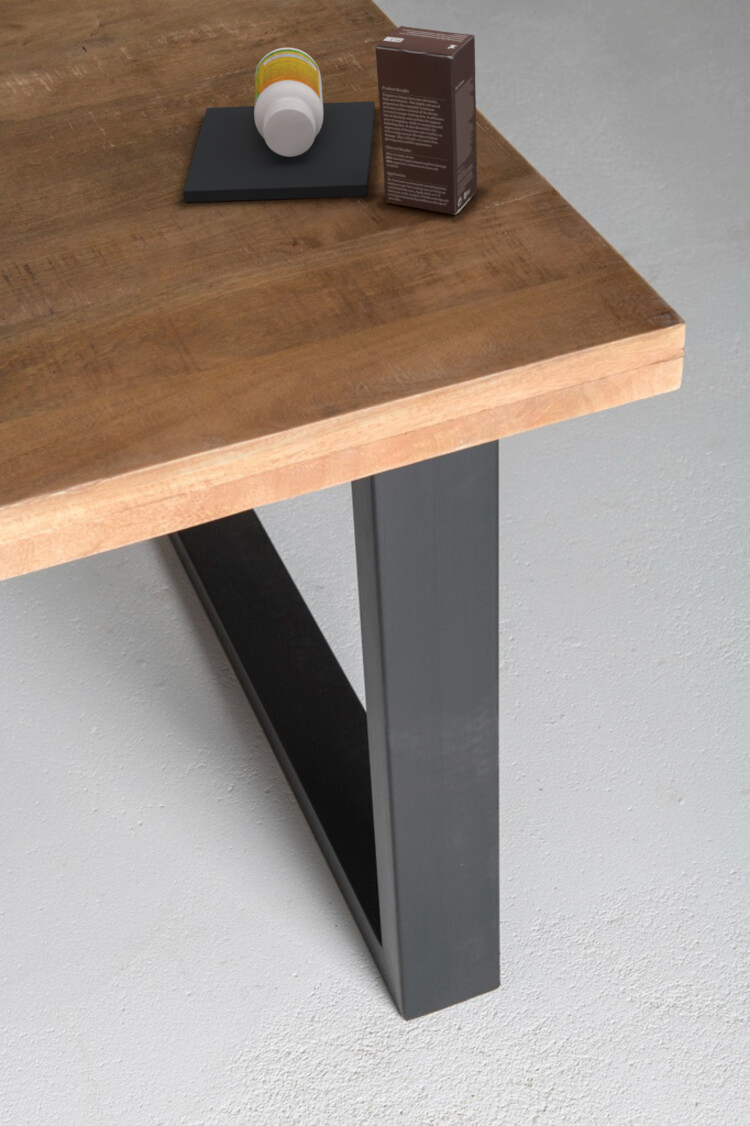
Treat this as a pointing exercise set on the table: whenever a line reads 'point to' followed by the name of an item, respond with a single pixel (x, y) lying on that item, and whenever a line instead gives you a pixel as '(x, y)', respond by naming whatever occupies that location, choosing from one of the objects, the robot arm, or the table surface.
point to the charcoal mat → (281, 158)
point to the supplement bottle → (288, 101)
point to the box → (428, 118)
